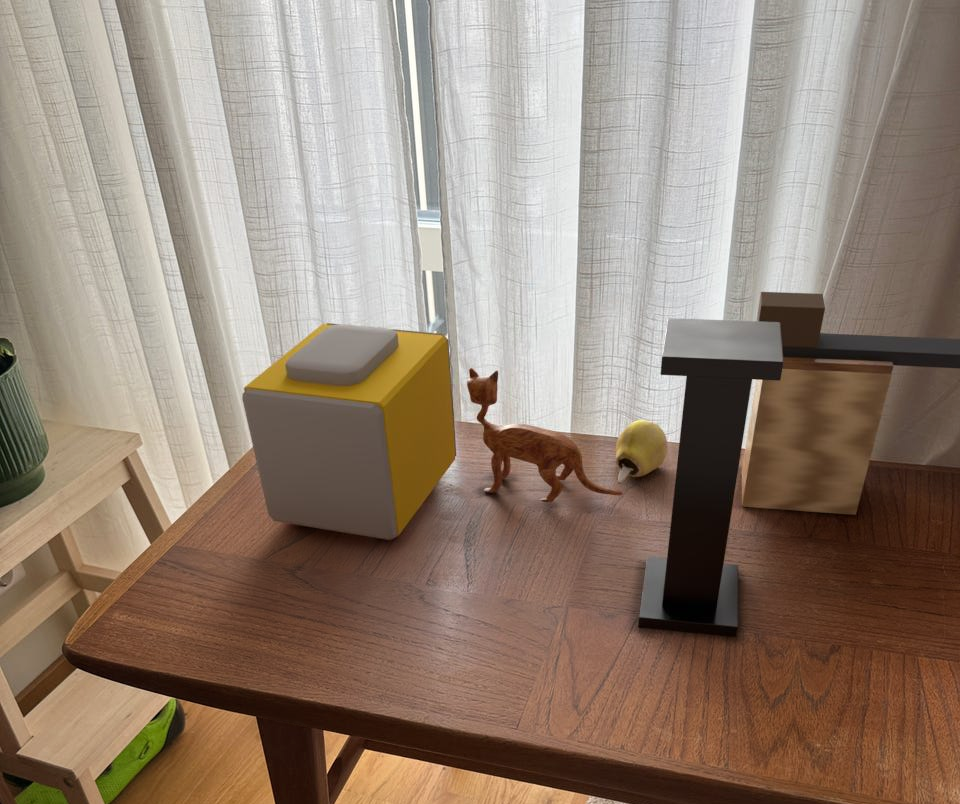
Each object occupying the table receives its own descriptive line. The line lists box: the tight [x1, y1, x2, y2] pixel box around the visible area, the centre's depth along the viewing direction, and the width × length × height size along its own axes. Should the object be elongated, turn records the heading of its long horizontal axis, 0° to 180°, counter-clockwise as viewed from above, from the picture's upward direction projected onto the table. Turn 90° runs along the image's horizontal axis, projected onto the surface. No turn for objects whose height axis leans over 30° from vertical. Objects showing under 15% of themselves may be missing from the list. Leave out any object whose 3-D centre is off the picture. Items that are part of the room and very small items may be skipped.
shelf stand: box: [637, 317, 784, 638], centre depth 81 cm, size 9×10×26 cm
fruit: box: [615, 419, 669, 485], centre depth 107 cm, size 6×6×10 cm
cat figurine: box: [466, 367, 624, 503], centre depth 101 cm, size 18×7×14 cm, turn 70°
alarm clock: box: [241, 322, 457, 541], centre depth 100 cm, size 20×16×18 cm
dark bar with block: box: [756, 291, 960, 369], centre depth 91 cm, size 20×4×5 cm, turn 77°
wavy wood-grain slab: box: [741, 334, 894, 516], centre depth 98 cm, size 12×8×17 cm, turn 78°
